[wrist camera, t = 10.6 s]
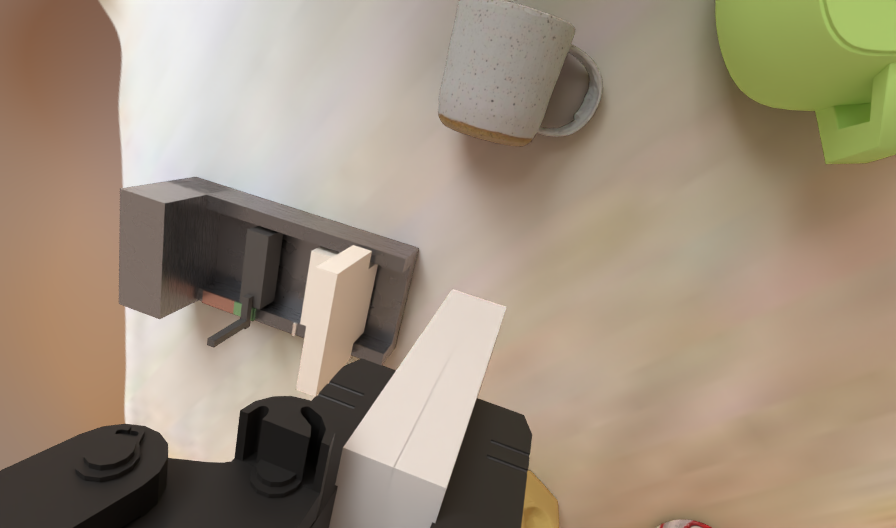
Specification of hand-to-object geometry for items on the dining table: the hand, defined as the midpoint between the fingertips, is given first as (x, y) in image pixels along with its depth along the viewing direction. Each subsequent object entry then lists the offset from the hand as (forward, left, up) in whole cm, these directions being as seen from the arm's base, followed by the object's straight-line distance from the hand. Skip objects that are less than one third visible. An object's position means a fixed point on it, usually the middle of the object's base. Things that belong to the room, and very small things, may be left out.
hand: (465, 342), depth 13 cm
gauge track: (+12, -19, -26) cm, 35 cm away
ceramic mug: (-8, -3, -27) cm, 28 cm away
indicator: (+13, -21, -25) cm, 34 cm away
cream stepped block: (+12, -13, -25) cm, 30 cm away
